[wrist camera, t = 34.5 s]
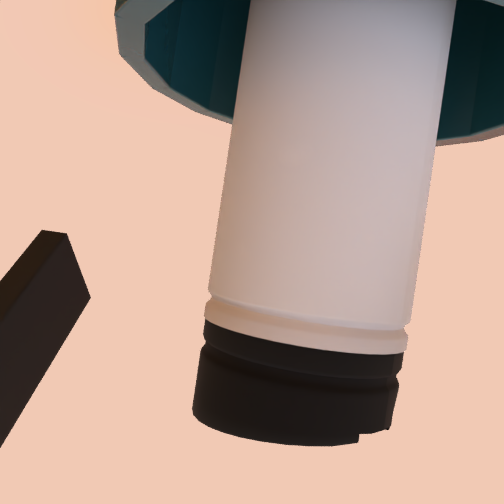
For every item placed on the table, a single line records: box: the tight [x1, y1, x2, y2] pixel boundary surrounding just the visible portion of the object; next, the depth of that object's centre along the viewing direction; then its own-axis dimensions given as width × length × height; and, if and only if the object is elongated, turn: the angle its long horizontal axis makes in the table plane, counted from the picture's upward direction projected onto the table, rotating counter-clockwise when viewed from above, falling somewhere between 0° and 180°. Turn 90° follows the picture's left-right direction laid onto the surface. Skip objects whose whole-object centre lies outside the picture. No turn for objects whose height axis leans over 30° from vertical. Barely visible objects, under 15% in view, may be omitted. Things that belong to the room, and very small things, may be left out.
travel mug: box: [192, 0, 456, 446], centre depth 15 cm, size 6×7×20 cm
